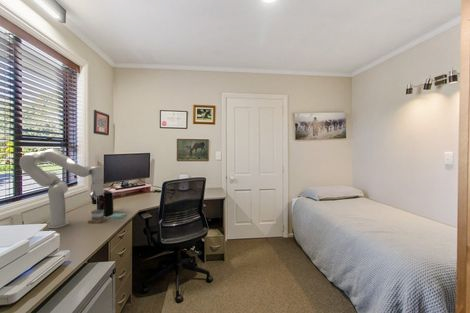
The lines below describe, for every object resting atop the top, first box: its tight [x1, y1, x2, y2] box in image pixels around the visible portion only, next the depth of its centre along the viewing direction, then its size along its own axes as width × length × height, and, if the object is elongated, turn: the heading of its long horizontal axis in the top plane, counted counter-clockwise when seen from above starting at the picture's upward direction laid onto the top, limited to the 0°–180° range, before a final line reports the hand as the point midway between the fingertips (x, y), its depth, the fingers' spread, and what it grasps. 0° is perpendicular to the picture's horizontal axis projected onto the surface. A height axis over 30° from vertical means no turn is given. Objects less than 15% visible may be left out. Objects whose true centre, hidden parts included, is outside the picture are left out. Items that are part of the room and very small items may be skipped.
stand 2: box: [107, 212, 127, 220], centre depth 197 cm, size 10×10×2 cm
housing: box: [91, 208, 105, 220], centre depth 186 cm, size 7×5×7 cm
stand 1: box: [87, 216, 109, 224], centre depth 187 cm, size 10×10×2 cm
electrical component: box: [96, 189, 116, 217], centre depth 206 cm, size 18×10×20 cm, turn 47°
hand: (98, 202), depth 186 cm, fingers open, 9 cm apart
